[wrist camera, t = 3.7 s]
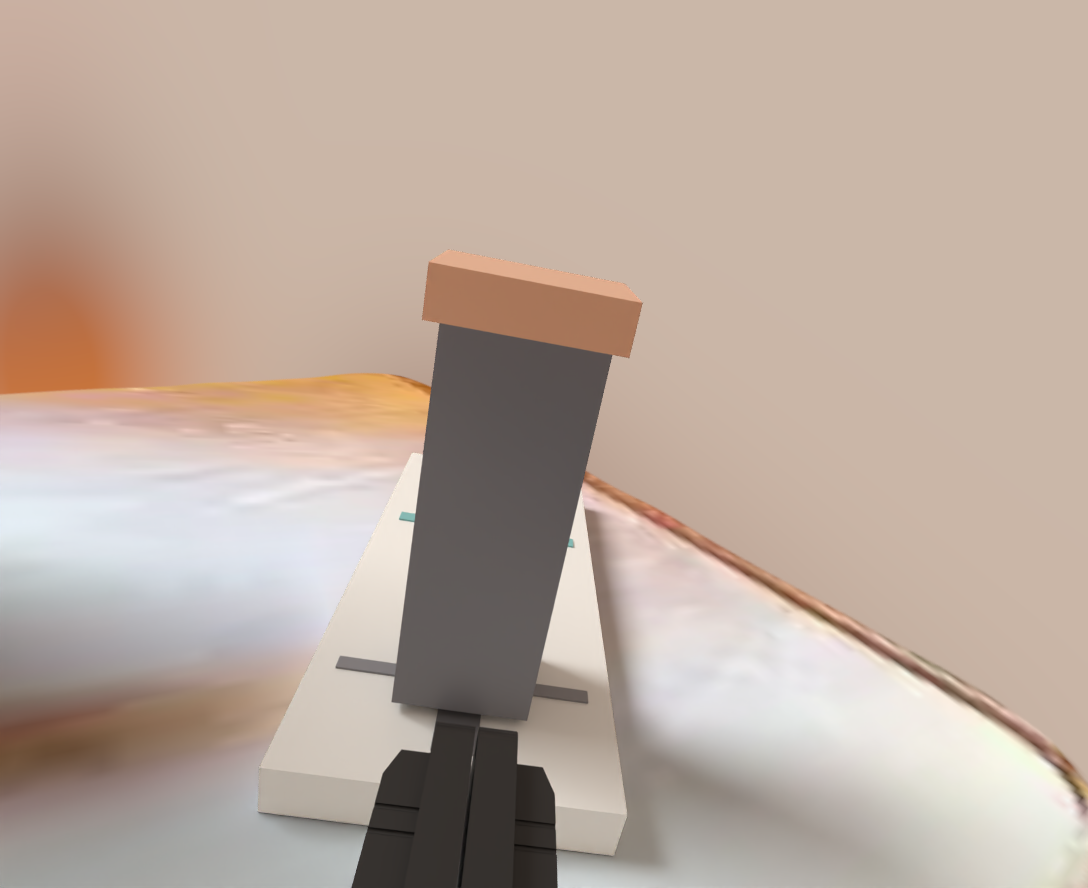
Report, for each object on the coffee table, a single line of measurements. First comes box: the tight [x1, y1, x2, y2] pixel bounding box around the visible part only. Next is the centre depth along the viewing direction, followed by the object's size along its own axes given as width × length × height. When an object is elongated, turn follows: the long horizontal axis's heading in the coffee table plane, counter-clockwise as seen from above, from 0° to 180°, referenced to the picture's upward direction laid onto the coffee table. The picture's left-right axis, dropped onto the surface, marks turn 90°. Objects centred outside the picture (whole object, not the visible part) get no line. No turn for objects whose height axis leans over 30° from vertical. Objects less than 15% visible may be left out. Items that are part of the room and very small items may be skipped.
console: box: [258, 453, 627, 856], centre depth 33 cm, size 12×26×2 cm, turn 0°
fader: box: [391, 250, 643, 721], centre depth 22 cm, size 6×4×16 cm, turn 90°
